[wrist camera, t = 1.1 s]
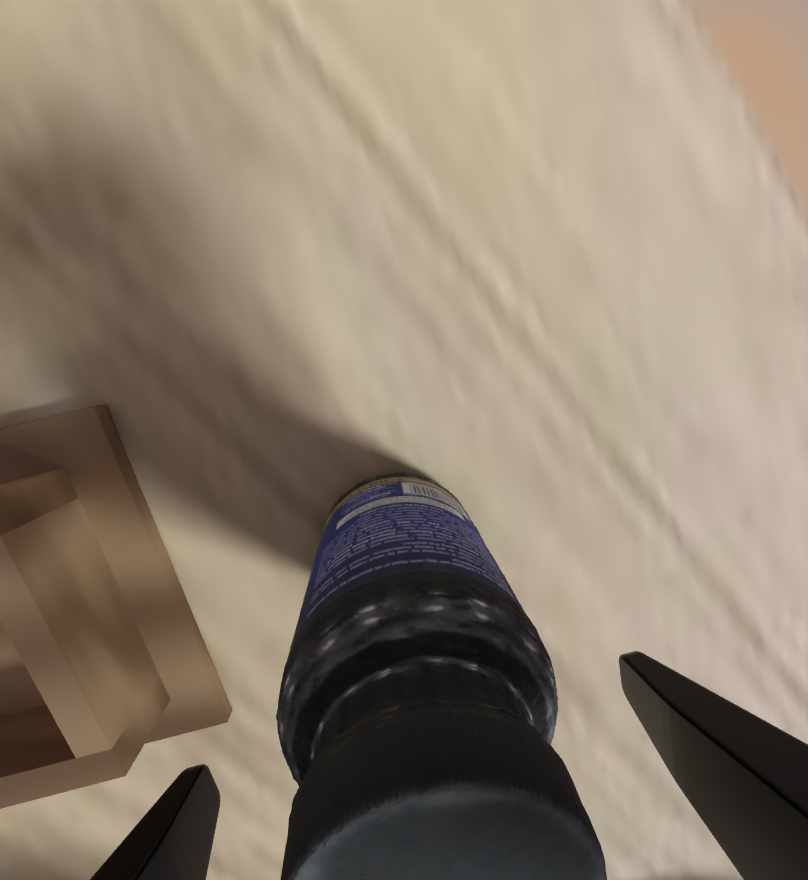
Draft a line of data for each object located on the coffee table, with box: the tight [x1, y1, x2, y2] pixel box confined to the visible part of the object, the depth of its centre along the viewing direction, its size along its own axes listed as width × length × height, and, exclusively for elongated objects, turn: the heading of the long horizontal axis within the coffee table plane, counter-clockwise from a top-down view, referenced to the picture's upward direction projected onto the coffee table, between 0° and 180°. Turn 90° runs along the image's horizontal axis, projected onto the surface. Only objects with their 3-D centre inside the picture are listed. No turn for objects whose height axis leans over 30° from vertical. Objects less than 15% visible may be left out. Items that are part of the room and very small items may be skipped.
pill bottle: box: [276, 473, 607, 880], centre depth 11 cm, size 6×6×11 cm
